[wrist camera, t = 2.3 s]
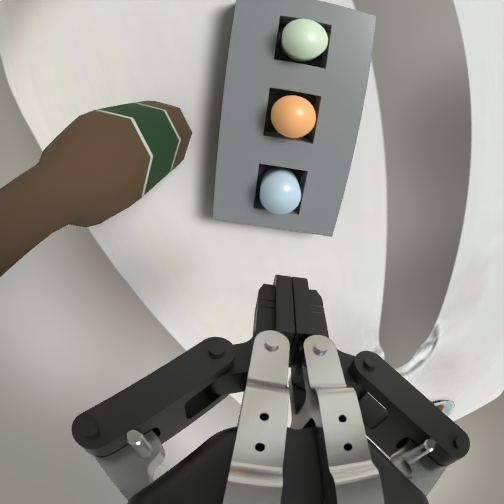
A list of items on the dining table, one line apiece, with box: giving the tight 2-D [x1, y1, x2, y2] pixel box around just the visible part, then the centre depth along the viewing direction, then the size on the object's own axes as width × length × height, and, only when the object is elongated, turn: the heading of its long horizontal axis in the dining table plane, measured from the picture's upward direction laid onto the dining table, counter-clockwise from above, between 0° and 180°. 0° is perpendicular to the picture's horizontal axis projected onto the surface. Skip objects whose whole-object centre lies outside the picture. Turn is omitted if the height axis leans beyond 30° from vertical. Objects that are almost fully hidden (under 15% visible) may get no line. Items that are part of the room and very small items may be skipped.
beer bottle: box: [0, 101, 192, 277], centre depth 16 cm, size 8×8×24 cm
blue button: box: [260, 167, 301, 214], centre depth 25 cm, size 4×4×3 cm
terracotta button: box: [271, 95, 316, 138], centre depth 21 cm, size 4×4×3 cm
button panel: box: [213, 0, 376, 237], centre depth 23 cm, size 22×12×3 cm, turn 173°
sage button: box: [281, 19, 328, 62], centre depth 18 cm, size 4×4×3 cm
